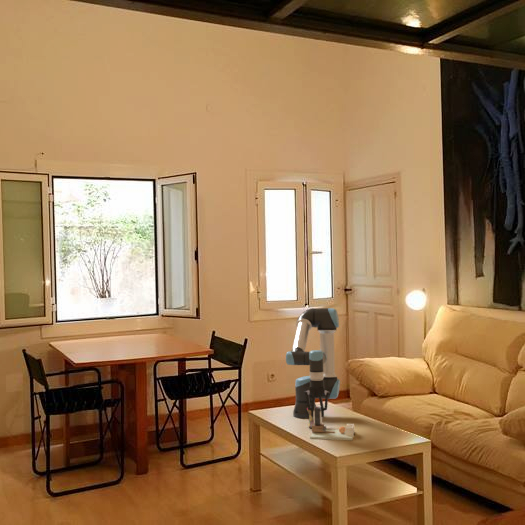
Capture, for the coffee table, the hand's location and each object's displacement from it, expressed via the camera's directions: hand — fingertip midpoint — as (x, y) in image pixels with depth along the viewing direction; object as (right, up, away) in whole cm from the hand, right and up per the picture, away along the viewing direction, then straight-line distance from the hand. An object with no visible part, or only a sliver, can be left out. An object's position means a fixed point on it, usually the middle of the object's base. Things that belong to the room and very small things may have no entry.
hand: (317, 422), depth 332 cm
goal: (+17, -6, -4) cm, 18 cm away
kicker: (+1, -4, 0) cm, 4 cm away
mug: (0, -6, +16) cm, 17 cm away
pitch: (+8, -6, -3) cm, 10 cm away
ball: (+13, -3, -3) cm, 13 cm away
